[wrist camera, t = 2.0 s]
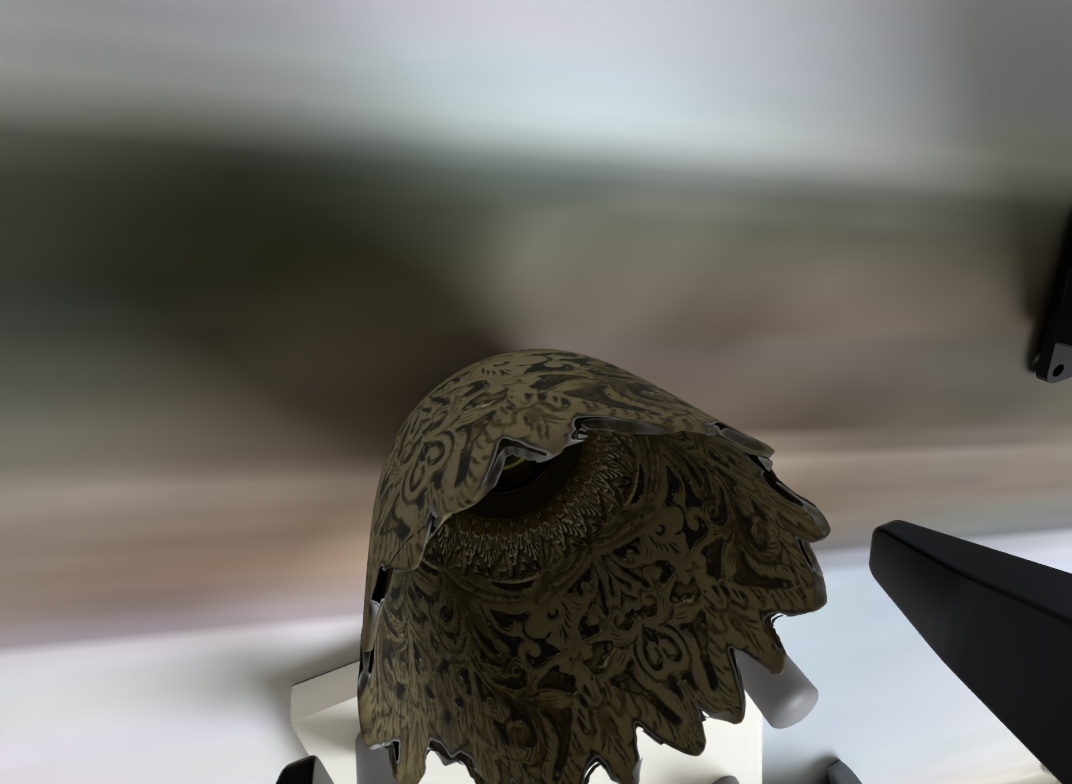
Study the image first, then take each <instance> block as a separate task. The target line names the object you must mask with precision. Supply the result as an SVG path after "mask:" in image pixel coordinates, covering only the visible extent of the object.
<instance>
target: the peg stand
mask: <svg viewBox="0 0 1072 784" xmlns="http://www.w3.org/2000/svg"><path fill="white" fill-rule="evenodd" d="M735 656H736V659H737V662H738V664H739V666H740V670H741V673H742V678H743V683H744V691H745V697H746V710H745V716H744V719H743V721H742V723H740V724H735V725H734V724H732V723H729V722H726V721H722V720H717V719H712V718H706V721H703V722H702V723H703V727H704V732H705V736H706V746H705V750H704V752H703V753H702V754H701V755H700V756H690V755H687V754H684V753H682V752H680V751H678V750H676V749H674V748H672V747H670V746H668V745H666V744H662V745H660V744H658V743H656V742H655V741H654V740H653V739H651V738H650V737H649V736H647V735H646V733H644V732H642V731H643V729H642V728H640V727H637V729H636V734H637V748H638V751H639V752H638V753H639V755H640V760H641V758H642V757H643V760H642V764H641V769H640V782H639V784H762V714H763V716H764V717H765V719H766V720H767V721H768V723H769V724H770V725H771V726H772V727H774V728H778V729H781V728H786V727H789V726H792V725H794V724H796V723H798V722H799V721H801V720H802V719H803V718H804V717H806V716H807V715H808V714H809V713H810V712H811V710H812V709H813V708H814V706H815V704H816V702H817V700H818V691H817V689H816V688H815V687H814V685H813V684H812V683H811V682H810V681H809V680H808V678H807V677H806V676H805V675H804V674H803V673H802V671H801V670H800V669H799V668H798V667H797V666H796V664H795V663H794V662H793V661H792V660H791V659H790V657H789V656H788V655H787V654H786V666H785V670H784V672H783V674H775V675H771V674H768V670H766V669H765V668H764V667H763V666H761V665H760V664H758V663H756V662H755V661H754V660H752V659H751V658H750V657H749V656H747V655H746V654H744V653H742V652H739V651H737V650H735ZM743 658H744V659H745V660H744V661H743ZM359 665H360V661H358V662H355V663H352V664H350V665H347V666H345V667H342V668H339V669H337V670H334V671H331V672H329V673H326V674H324V675H321V676H318V677H316V678H313V679H310V680H308V681H305V682H302V683H300V684H297V685H295V686H292V695H291V710H290V724H291V726H292V728H293V730H294V731H295V733H296V735H297V736H298V738H299V740H300V741H301V743H302V745H303V746H304V748H305V750H306V751H307V753H308V755H309V756H310V755H315V756H317V757H318V758H319V759H320V760H321V762H322V764H323V765H324V767H325V769H326V770H327V772H328V774H329V776H330V777H331V779H332V781H333V782H334V784H398V782H397V781H396V780H395V778H394V777H393V775H392V773H391V768H390V763H389V750H388V749H384V748H377V749H375V750H370V749H368V748H367V747H366V745H365V743H364V741H363V738H362V734H361V729H360V722H359V714H358V703H357V683H358V674H359ZM702 712H703V711H702ZM703 714H704V715H705V716H707V717H708V716H709V715H707V714H706V713H705V712H703ZM428 749H429V748H428ZM425 762H426V772H425V774H424V776H423V777H422V779H421V780H420V782H419V784H475V782H474V779H473V778H471V777H470V775H469V773H468V770H467V768H466V766H465V765H461V764H459V763H453V764H451V765H448V766H444V765H443V764H442V762H441V760H440V759H439V757H438V756H437V754H436V753H435V752H433V751H430V752H429V753H428V755H427V759H426V761H425ZM459 762H460V761H459ZM461 763H462V762H461ZM596 763H598V762H596ZM596 763H595V764H596ZM462 764H463V763H462ZM595 764H594V765H595ZM594 765H593V766H594ZM591 768H592V766H591V767H590V768H589V770H590V769H591ZM589 770H588V771H587V773H588V772H589ZM587 773H586V775H587ZM586 775H585V777H586ZM589 779H590V780H589V783H588V784H618V783H616V782H614V781H612V780H610V778H609V776H608V775H607V772H606V771H605V769H603V767H602V766H601V765H600V766H599V767H597V768H596V769H595V770H594V772H593V773H592V774H591V775H590V778H589Z"/></svg>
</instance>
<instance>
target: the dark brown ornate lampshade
mask: <svg viewBox="0 0 1072 784" xmlns="http://www.w3.org/2000/svg"><path fill="white" fill-rule="evenodd" d="M773 454H774V450H773V449H772V448H771V447H770V446H768V445H767V444H765V443H763V442H761V441H759V440H757V439H755V438H753V437H751V436H748V435H746V434H744V433H742V432H740V431H738V430H736V429H734V428H732V427H730V426H728V425H727V424H725V423H723V422H721V421H719V420H717V419H716V418H714V417H712V416H710V415H708V414H707V413H705V412H703V411H701V410H699V409H698V408H696V407H694V406H692V405H690V404H688V403H687V402H685V401H683V400H681V399H679V398H678V397H676V396H674V395H672V394H670V393H668V392H666V391H665V390H663V389H661V388H659V387H657V386H655V385H653V384H651V383H650V382H648V381H646V380H644V379H642V378H640V377H638V376H636V375H634V374H632V373H630V372H627V371H625V370H623V369H621V368H619V367H616V366H614V365H612V364H609V363H607V362H604V361H601V360H599V359H596V358H592V357H589V356H586V355H582V354H578V353H573V352H567V351H561V350H555V349H528V350H519V351H513V352H507V353H503V354H499V355H496V356H492V357H489V358H486V359H483V360H481V361H478V362H476V363H473V364H471V365H469V366H467V367H465V368H463V369H461V370H460V371H458V372H456V373H455V374H453V375H452V376H450V377H449V378H447V379H446V380H444V381H443V382H442V383H440V384H439V385H438V386H437V387H436V388H434V389H433V390H432V391H431V392H430V393H429V394H428V395H427V396H426V397H425V398H424V399H423V400H422V401H421V402H420V403H419V404H418V405H417V406H416V407H415V409H414V410H413V411H412V412H411V414H410V415H409V416H408V418H407V419H406V420H405V422H404V423H403V425H402V427H401V428H400V430H399V431H398V433H397V435H396V437H395V439H394V441H393V443H392V446H391V448H390V450H389V452H388V455H387V457H386V460H385V463H384V466H383V469H382V472H381V475H380V480H379V484H378V488H377V493H376V498H375V503H374V509H373V516H372V523H371V532H370V541H369V552H368V562H367V574H366V586H365V599H364V612H363V626H362V633H361V646H360V665H359V674H358V683H357V703H358V714H359V722H360V729H361V734H362V738H363V741H364V743H365V745H366V747H367V748H368V749H370V750H375V749H377V748H384V749H388V750H389V763H390V768H391V773H392V775H393V777H394V778H395V780H396V781H397V782H398V784H419V782H420V780H421V779H422V777H423V776H424V774H425V772H426V762H425V761H426V759H427V755H428V753H429V752H430V751H433V752H435V753H436V754H437V756H438V757H439V759H440V760H441V762H442V764H443V765H444V766H448V765H451V764H453V763H459V764H461V765H465V766H466V768H467V770H468V773H469V775H470V777H471V778H473V779H474V782H475V784H588V783H589V780H590V779H589V778H590V775H591V774H592V773H593V772H594V770H595V769H596V768H597V767H599V766H600V765H601V766H602V767H603V769H605V771H606V772H607V775H608V776H609V778H610V780H612V781H614V782H616V783H618V784H639V782H640V769H641V764H642V760H643V757H642V758H641V760H640V755H639V753H638V752H639V751H638V748H637V734H636V729H637V727H640V728H642V729H643V731H642V732H644V733H646V735H647V736H649V737H650V738H651V739H653V740H654V741H655V742H656V743H658V744H660V745H662V744H666V745H668V746H670V747H672V748H674V749H676V750H678V751H680V752H682V753H684V754H687V755H690V756H700V755H701V754H702V753H703V752H704V750H705V746H706V736H705V732H704V727H703V723H702V722H703V721H706V718H712V719H717V720H722V721H726V722H729V723H732V724H734V725H735V724H740V723H742V721H743V719H744V716H745V710H746V697H745V691H744V683H743V678H742V673H741V670H740V666H739V664H738V662H737V659H736V656H735V650H737V651H739V652H742V653H744V654H746V655H747V656H749V657H750V658H751V659H752V660H754V661H755V662H756V663H758V664H760V665H761V666H763V667H764V668H765V669H766V670H768V674H771V675H775V674H783V672H784V670H785V666H786V652H785V650H784V647H783V645H782V643H781V641H780V638H779V636H778V635H777V634H776V631H775V628H773V626H774V625H773V623H774V621H775V620H776V619H777V618H778V617H781V616H783V615H780V616H777V617H775V618H773V619H772V623H771V618H772V617H773V616H775V615H776V614H778V613H782V614H785V615H788V616H789V617H790V616H796V615H802V614H806V613H809V612H810V613H811V612H815V611H817V610H819V609H820V608H822V607H823V606H824V605H826V603H827V595H826V586H825V582H824V578H823V573H822V571H821V569H820V566H819V564H818V562H817V558H816V556H815V554H814V552H813V550H812V548H811V547H810V544H809V542H810V543H813V542H817V541H819V540H820V541H821V540H823V539H825V538H826V537H827V536H828V534H829V533H830V526H829V524H828V522H827V520H826V519H825V517H824V515H823V514H822V513H821V512H820V510H819V509H818V508H817V507H816V506H815V505H814V504H813V503H811V502H810V501H808V500H807V499H805V498H803V497H801V496H799V495H798V494H796V493H794V492H793V491H792V490H791V489H790V488H788V487H787V486H786V485H785V484H783V483H782V482H781V481H780V480H779V479H778V478H777V477H776V475H775V473H774V472H773V470H772V469H771V468H772V463H773V462H772V461H771V460H770V459H769V458H770V457H771V456H772V455H773ZM744 660H745V659H744V658H743V661H744ZM702 711H703V712H705V713H706V714H707V715H709V716H708V717H707V716H705V715H704V714H703V712H702ZM428 748H429V749H428ZM459 761H460V762H459ZM461 762H462V763H463V764H462V763H461ZM596 762H598V763H596ZM595 763H596V764H595ZM594 764H595V765H594ZM593 765H594V766H593ZM591 766H592V768H591V769H590V770H589V768H590V767H591ZM588 770H589V772H588V773H587V771H588ZM586 773H587V775H586ZM585 775H586V777H585Z"/></svg>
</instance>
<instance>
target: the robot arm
mask: <svg viewBox="0 0 1072 784" xmlns="http://www.w3.org/2000/svg"><path fill="white" fill-rule="evenodd" d="M1036 376H1037V378H1038V379H1041V380H1043V381H1046V382H1049V383H1056V382H1059V381H1061V380H1064V379H1067V378H1069V377H1072V226H1071V230H1070V234H1069V238H1068V242H1067V247H1066V251H1065V255H1064V259H1063V263H1062V267H1061V271H1060V275H1059V279H1058V283H1057V287H1056V291H1055V295H1054V300H1053V304H1052V308H1051V312H1050V316H1049V320H1048V324H1047V328H1046V332H1045V336H1044V340H1043V344H1042V348H1041V353H1040V357H1039V361H1038V365H1037V369H1036ZM869 567H870V570H871V573H872V575H873V577H874V578H875V580H876V581H877V582H878V583H879V585H880V586H881V587H882V588H883V590H884V591H885V592H886V593H887V594H888V596H889V597H890V598H891V599H892V601H893V602H894V603H895V604H896V605H897V607H898V608H899V609H900V610H901V612H902V613H903V614H904V615H905V616H906V618H907V619H908V620H909V621H910V623H911V624H912V625H913V626H914V627H915V629H916V630H917V631H918V632H919V634H920V635H921V636H922V637H923V638H924V640H925V641H926V642H927V643H928V645H929V646H930V647H931V648H932V649H933V650H934V652H935V653H936V654H937V655H938V656H939V657H940V658H941V660H942V661H943V662H944V663H945V664H946V665H947V666H948V667H949V668H950V669H951V670H952V671H953V673H954V674H955V675H956V676H957V677H958V678H959V679H960V680H961V681H962V682H963V683H964V684H965V685H966V686H967V687H968V688H969V689H970V690H971V691H972V692H973V693H974V694H975V695H976V696H977V697H978V698H979V699H980V700H981V701H982V702H983V703H984V704H985V705H986V707H987V708H988V709H989V710H990V711H991V712H992V713H993V714H994V715H995V716H996V717H997V718H998V719H999V720H1000V721H1001V722H1002V723H1003V724H1004V725H1005V726H1006V727H1007V728H1008V729H1009V730H1010V731H1011V732H1012V733H1013V734H1014V735H1015V736H1016V737H1017V738H1018V739H1019V740H1020V741H1021V742H1022V743H1023V745H1024V746H1025V747H1026V748H1027V749H1028V750H1029V751H1030V752H1031V753H1032V754H1033V755H1034V756H1035V757H1036V758H1037V759H1038V760H1039V761H1040V762H1041V763H1042V764H1043V765H1044V766H1045V767H1046V768H1047V769H1048V770H1049V771H1050V772H1051V773H1052V774H1053V775H1054V776H1055V777H1056V778H1057V779H1058V780H1059V781H1060V782H1061V783H1062V784H1072V574H1071V573H1068V572H1065V571H1062V570H1058V569H1055V568H1052V567H1049V566H1046V565H1042V564H1039V563H1036V562H1033V561H1030V560H1027V559H1023V558H1020V557H1017V556H1014V555H1011V554H1007V553H1004V552H1001V551H998V550H995V549H992V548H988V547H985V546H982V545H979V544H976V543H972V542H969V541H966V540H963V539H960V538H957V537H953V536H950V535H947V534H944V533H941V532H937V531H934V530H931V529H928V528H925V527H922V526H918V525H915V524H912V523H909V522H906V521H901V520H894V521H891V522H888V523H886V524H883V525H881V526H878V527H877V528H875V530H874V531H873V534H872V541H871V549H870V558H869ZM276 784H334V782H333V781H332V779H331V777H330V776H329V774H328V772H327V770H326V769H325V767H324V765H323V764H322V762H321V760H320V759H319V758H318V757H317V756H315V755H310V756H308V757H305V758H303V759H300V760H298V761H295V762H293V763H290V764H289V765H287V766H286V767H285V768H284V769H283V770H282V772H281V773H280V775H279V778H278V780H277V782H276Z"/></svg>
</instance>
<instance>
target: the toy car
mask: <svg viewBox="0 0 1072 784" xmlns="http://www.w3.org/2000/svg"><path fill="white" fill-rule="evenodd" d="M827 773H828V775H829V776H830V780H829V784H862V783H861V781H860V780H859V779H858V778H857V776H856V775H855V774H854V773H853V772H852V770H851V769H850V768H849V767H848V766H847V765H846V764H844V763H843V762H842V761H840V760H839V761H837V762H836V763H834V764H832V765H831V766H829V767H828V768H827Z"/></svg>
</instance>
